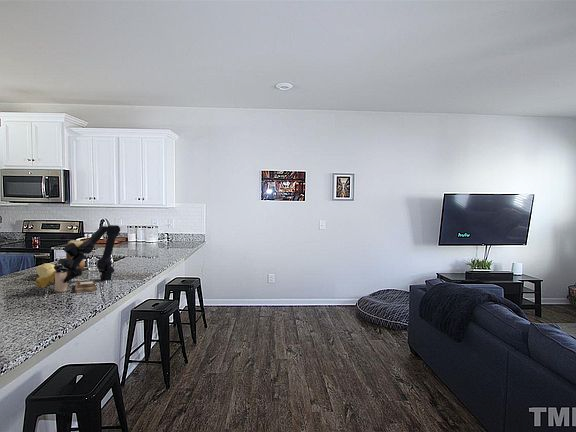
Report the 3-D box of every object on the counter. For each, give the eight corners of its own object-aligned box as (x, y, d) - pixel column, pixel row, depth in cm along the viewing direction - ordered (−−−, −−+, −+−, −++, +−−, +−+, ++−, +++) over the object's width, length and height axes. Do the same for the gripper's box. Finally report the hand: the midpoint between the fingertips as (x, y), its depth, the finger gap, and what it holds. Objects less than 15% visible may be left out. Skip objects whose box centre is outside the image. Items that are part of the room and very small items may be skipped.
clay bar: (61, 291, 223) (61, 271, 222) (66, 292, 221) (67, 272, 221) (54, 292, 219) (54, 273, 218) (60, 293, 217) (60, 273, 216)
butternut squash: (80, 275, 267) (80, 241, 266) (60, 275, 265) (60, 241, 264) (87, 271, 281) (87, 239, 280) (68, 271, 279) (68, 239, 277)
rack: (95, 285, 239) (95, 280, 239) (95, 293, 220) (95, 288, 220) (75, 287, 234) (75, 282, 233) (74, 295, 215) (74, 289, 215)
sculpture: (33, 279, 252) (33, 263, 251) (49, 275, 263) (49, 261, 263) (45, 280, 248) (45, 265, 248) (61, 277, 259) (61, 262, 259)
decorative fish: (64, 278, 249) (61, 265, 247) (68, 279, 249) (65, 265, 246) (36, 294, 229) (33, 279, 226) (41, 294, 228) (37, 279, 225)
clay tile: (92, 284, 237) (92, 281, 236) (92, 286, 232) (92, 283, 232) (80, 285, 233) (80, 282, 233) (80, 287, 229) (80, 284, 229)
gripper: (56, 252, 226) (38, 272, 216) (78, 254, 219) (60, 275, 209) (68, 262, 234) (51, 283, 224) (89, 265, 227) (73, 286, 217)
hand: (58, 282), depth 218 cm, fingers open, 8 cm apart
